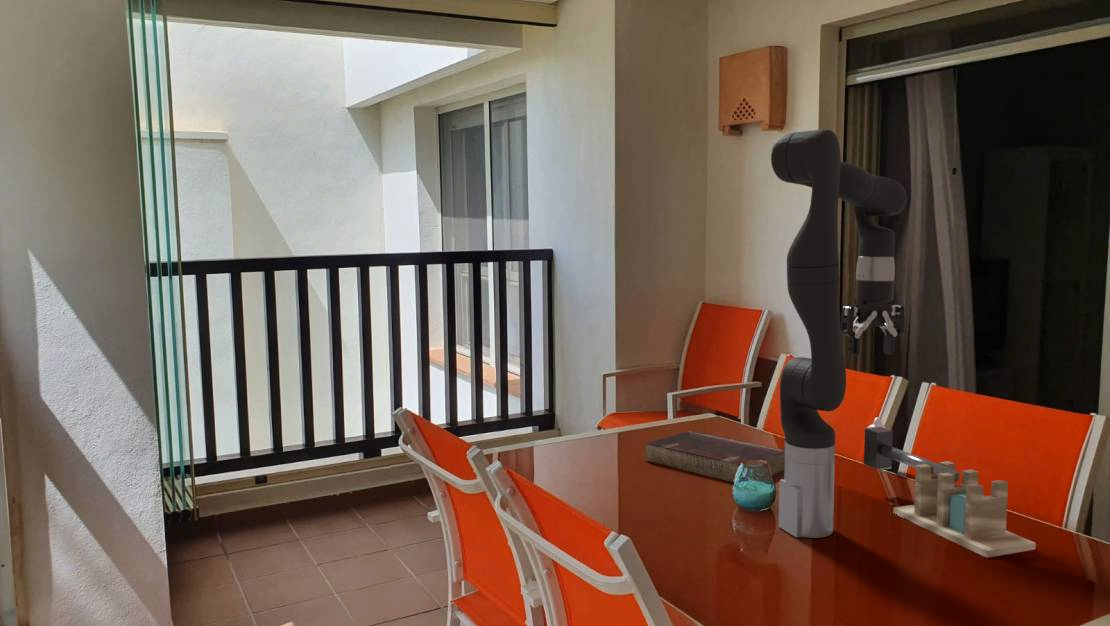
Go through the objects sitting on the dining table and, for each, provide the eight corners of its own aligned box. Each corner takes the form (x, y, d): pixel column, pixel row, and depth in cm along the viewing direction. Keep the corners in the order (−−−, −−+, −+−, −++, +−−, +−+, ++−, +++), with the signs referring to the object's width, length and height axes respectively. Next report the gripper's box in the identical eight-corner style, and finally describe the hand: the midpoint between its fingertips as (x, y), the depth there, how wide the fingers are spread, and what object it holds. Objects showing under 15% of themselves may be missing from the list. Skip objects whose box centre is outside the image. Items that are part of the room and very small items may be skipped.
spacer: (949, 526, 161) (950, 495, 161) (973, 523, 163) (975, 491, 163) (963, 533, 158) (965, 501, 157) (988, 529, 160) (990, 497, 159)
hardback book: (789, 469, 205) (790, 449, 204) (747, 487, 191) (747, 466, 191) (690, 447, 225) (690, 429, 224) (645, 462, 212) (645, 443, 211)
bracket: (893, 513, 173) (895, 460, 171) (937, 507, 176) (939, 455, 175) (986, 557, 150) (989, 497, 149) (1035, 549, 153) (1038, 490, 152)
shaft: (863, 464, 186) (864, 428, 185) (879, 462, 187) (880, 426, 186) (945, 498, 163) (947, 457, 162) (962, 495, 165) (964, 455, 164)
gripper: (858, 279, 172) (854, 359, 174) (915, 278, 177) (911, 356, 178) (834, 277, 179) (831, 353, 181) (890, 276, 184) (887, 351, 186)
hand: (871, 354), depth 180 cm, fingers open, 8 cm apart
